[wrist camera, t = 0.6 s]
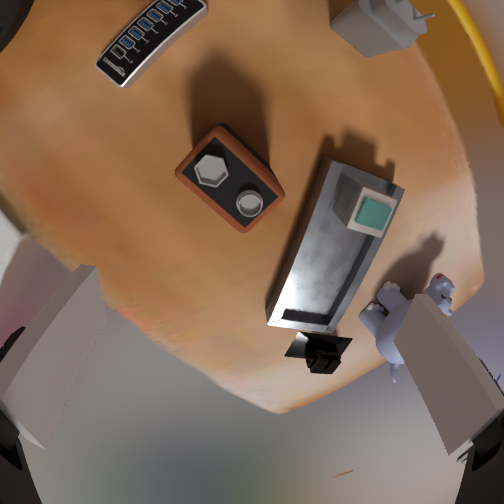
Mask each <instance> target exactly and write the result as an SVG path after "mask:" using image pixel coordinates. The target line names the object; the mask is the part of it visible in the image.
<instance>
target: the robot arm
mask: <svg viewBox="0 0 504 504" xmlns="http://www.w3.org/2000/svg"><path fill="white" fill-rule="evenodd" d="M32 3H33V0H0V52H1V51H2V50H3V49H4V48H5V47H6V46H7V45H8V43H9V42H10V41H11V39H12V38H13V37H14V35H15V34H16V32H17V31H18V29H19V28H20V26H21V24H22V23H23V21H24V19H25V17H26V16H27V14H28V12H29V10H30V7H31V5H32ZM107 322H108V321H107V316H106V312H105V307H104V303H103V298H102V293H101V287H100V282H99V276H98V270H97V266H91V265H84V264H81V265H80V266H79V267H78V268H77V269H76V270H75V271H74V272H73V273H72V274H71V276H70V277H69V278H68V279H67V280H66V281H65V282H64V283H63V284H62V285H61V287H60V288H59V289H58V290H57V291H56V292H55V293H54V294H53V296H52V297H51V298H50V299H49V300H48V302H47V303H46V304H45V305H44V306H43V307H42V309H41V310H40V311H39V312H38V313H37V315H36V316H35V317H34V318H33V320H32V321H31V322H30V323H29V325H28V326H27V327H21V328H19V329H18V330H16V331H15V332H14V333H12V334H11V335H10V337H9V338H8V339H7V340H6V342H5V343H4V346H3V347H1V349H0V504H42V502H41V500H40V498H39V496H38V493H37V490H36V488H35V485H34V482H33V480H32V477H31V474H30V471H29V468H28V465H27V462H26V459H25V455H24V452H23V448H22V445H21V443H20V440H19V438H18V435H19V433H20V432H21V434H22V435H23V436H24V437H25V438H26V439H27V440H28V441H30V442H32V443H34V444H36V445H38V446H39V447H41V448H44V449H47V446H48V444H49V441H50V439H51V436H52V433H53V431H54V429H55V426H56V424H57V422H58V419H59V417H60V415H61V412H62V410H63V408H64V406H65V403H66V401H67V399H68V397H69V395H70V393H71V390H72V388H73V386H74V384H75V382H76V380H77V378H78V376H79V374H80V372H81V370H82V368H83V366H84V364H85V362H86V360H87V358H88V356H89V355H90V353H91V351H92V349H93V347H94V345H95V343H96V341H97V340H98V338H99V336H100V334H101V332H102V331H103V329H104V327H105V325H106V324H107ZM393 342H394V344H395V346H396V347H397V349H398V351H399V353H400V355H401V357H402V358H403V360H404V362H405V364H406V366H407V368H408V370H409V372H410V374H411V376H412V377H413V379H414V381H415V383H416V385H417V387H418V389H419V391H420V393H421V395H422V397H423V399H424V401H425V404H426V405H427V408H428V410H429V412H430V414H431V416H432V418H433V421H434V423H435V425H436V427H437V429H438V431H439V434H440V436H441V438H442V441H443V443H444V446H445V448H446V450H447V453H448V455H451V454H454V453H456V452H458V451H460V450H462V449H463V448H464V447H465V446H467V445H468V444H469V443H470V442H471V441H472V442H473V444H474V445H473V446H471V447H470V448H469V449H468V450H467V451H465V452H464V453H463V454H462V455H460V457H458V459H457V462H460V461H461V460H462V459H463V458H465V457H466V456H467V458H465V459H464V460H463V461H462V462H461V463H462V464H464V465H466V466H465V470H464V474H463V478H462V481H461V485H460V489H459V492H458V495H457V498H456V502H455V504H504V393H503V391H502V390H501V388H500V387H499V385H498V384H497V382H496V381H495V379H493V376H492V375H491V373H490V372H488V369H487V367H486V366H485V364H484V363H483V361H482V360H480V359H479V358H478V357H477V356H476V354H475V353H474V351H473V350H472V349H471V348H470V346H469V345H468V343H467V342H466V341H465V340H464V338H463V337H462V335H461V334H460V333H459V331H458V330H457V329H456V328H455V326H454V325H453V324H452V323H451V321H450V320H449V319H448V318H447V316H446V315H445V314H444V313H443V311H442V310H441V309H440V308H439V307H438V305H437V304H436V303H435V302H434V301H433V299H432V298H431V297H430V296H429V295H428V294H415V297H414V299H413V301H412V303H411V306H410V308H409V310H408V312H407V314H406V316H405V319H404V321H403V323H402V325H401V327H400V329H399V331H398V333H397V335H396V337H395V339H394V341H393Z"/></svg>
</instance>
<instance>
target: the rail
mask: <svg viewBox="0 0 504 504" xmlns="http://www.w3.org/2000/svg"><path fill="white" fill-rule="evenodd" d="M404 191H405V190H404V189H403V188H401V187H400V186H398V185H396V184H395V183H393V182H391V181H388V180H386V179H384V178H381V177H379V176H377V175H374V174H372V173H369V172H367V171H364V170H362V169H359V168H357V167H354V166H351V165H349V164H346V163H344V162H341V161H338V160H335V159H333V158H330V157H327V156H324V155H323V157H322V160H321V162H320V165H319V168H318V171H317V174H316V177H315V180H314V183H313V185H312V188H311V191H310V194H309V197H308V199H307V202H306V205H305V208H304V210H303V213H302V216H301V219H300V221H299V224H298V227H297V229H296V232H295V235H294V238H293V240H292V243H291V246H290V248H289V251H288V253H287V256H286V259H285V261H284V264H283V266H282V269H281V272H280V274H279V277H278V279H277V282H276V284H275V287H274V290H273V292H272V295H271V297H270V300H269V302H268V305H267V307H266V310H265V312H266V319H267V325H271V326H278V327H285V328H293V329H301V330H309V331H317V332H326V333H333V332H334V330H335V329H336V327H337V325H338V323H339V321H340V320H341V318H342V316H343V315H344V313H345V311H346V309H347V308H348V306H349V304H350V302H351V301H352V299H353V297H354V295H355V293H356V292H357V290H358V288H359V286H360V284H361V282H362V281H363V279H364V277H365V275H366V273H367V271H368V269H369V267H370V265H371V263H372V261H373V259H374V257H375V255H376V253H377V251H378V249H379V247H380V245H381V243H382V241H383V239H384V237H385V234H386V232H387V230H388V228H389V226H390V224H391V221H392V219H393V217H394V215H395V212H396V210H397V208H398V205H399V203H400V201H401V198H402V196H403V193H404Z"/></svg>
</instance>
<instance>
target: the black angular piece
mask: <svg viewBox="0 0 504 504" xmlns="http://www.w3.org/2000/svg"><path fill="white" fill-rule="evenodd" d="M352 339H353V338H345V337H337V336H329V335H321V334H314V333H307V332H298V334H297V336H296V337H295V339H294V341H293V342H292V344H291V346H290V347H289V349H288V351H287V352H286V354H285V355H284V356H286V357H295V358H305V359H306V363H307V367H308V368H310V371H311V373H319V374H332V373H333V372H334V371H335V370H336V368H337V367H338V366H339V364H340V363H341V361H340V359H341V355H342V354H343V352H344V351H345V349H346V348H347V347H348V345H349V344H350V342H351V341H352Z"/></svg>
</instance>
